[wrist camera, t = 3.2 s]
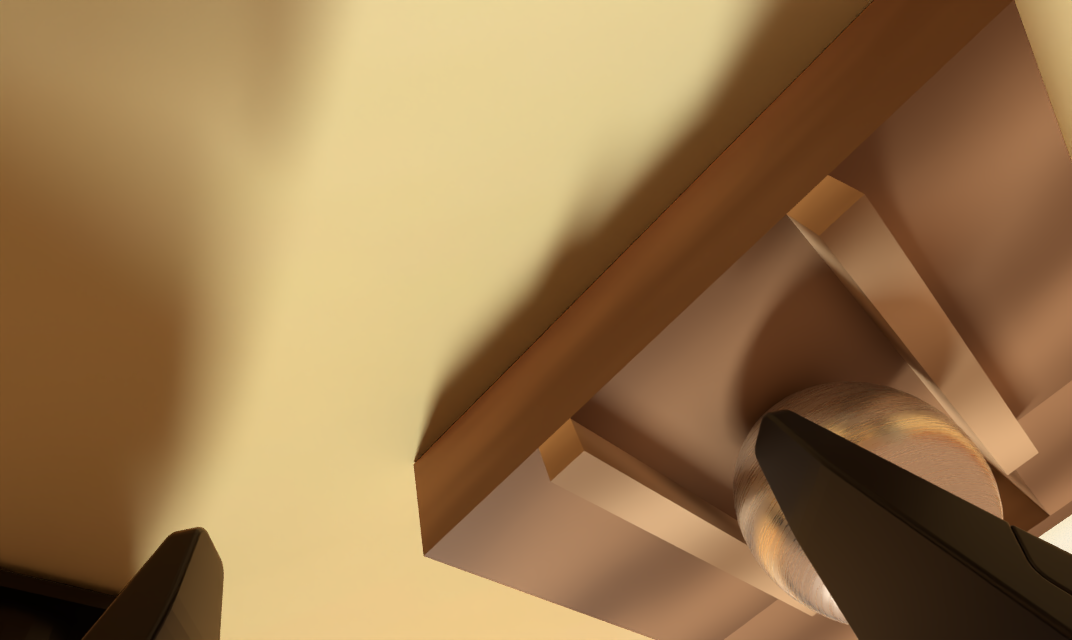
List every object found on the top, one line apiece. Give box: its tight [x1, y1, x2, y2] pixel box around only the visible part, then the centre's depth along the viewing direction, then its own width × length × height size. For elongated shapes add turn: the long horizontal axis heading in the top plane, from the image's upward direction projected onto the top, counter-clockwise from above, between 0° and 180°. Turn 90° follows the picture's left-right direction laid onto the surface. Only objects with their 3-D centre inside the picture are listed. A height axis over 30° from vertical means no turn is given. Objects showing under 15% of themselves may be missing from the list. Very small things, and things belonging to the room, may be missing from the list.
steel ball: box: [733, 381, 1003, 625], centre depth 13 cm, size 5×5×5 cm
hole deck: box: [414, 0, 1072, 640], centre depth 18 cm, size 20×16×4 cm
